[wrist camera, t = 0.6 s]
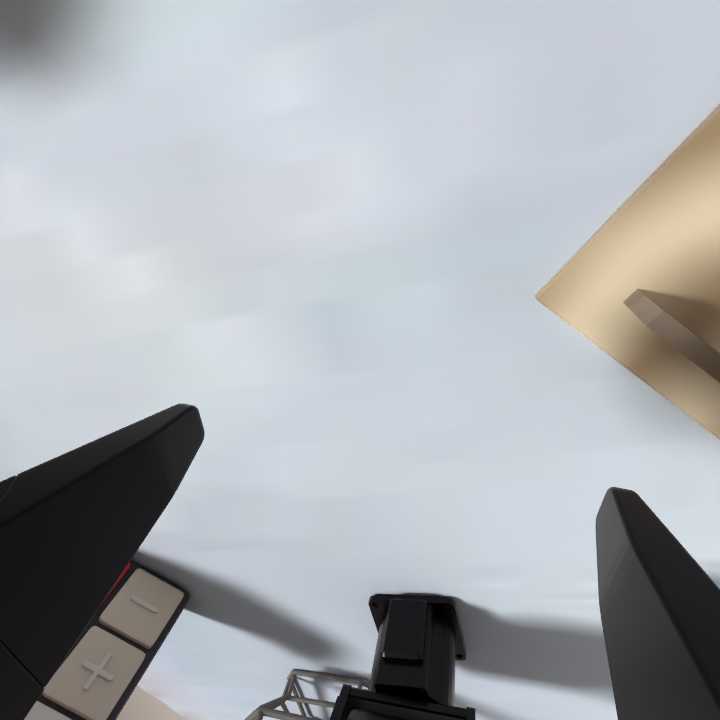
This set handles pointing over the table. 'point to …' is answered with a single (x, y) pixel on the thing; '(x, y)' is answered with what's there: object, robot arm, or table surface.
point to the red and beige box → (113, 649)
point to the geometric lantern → (298, 698)
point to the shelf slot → (657, 280)
